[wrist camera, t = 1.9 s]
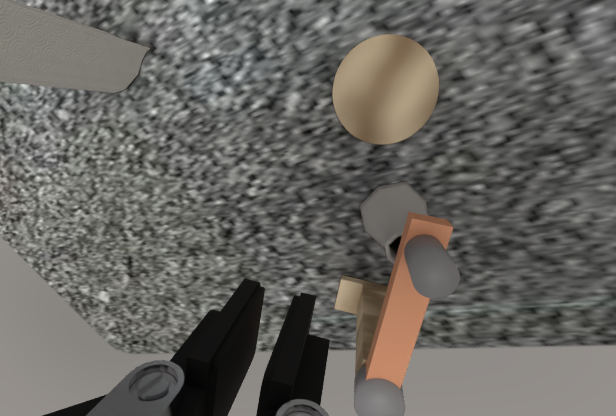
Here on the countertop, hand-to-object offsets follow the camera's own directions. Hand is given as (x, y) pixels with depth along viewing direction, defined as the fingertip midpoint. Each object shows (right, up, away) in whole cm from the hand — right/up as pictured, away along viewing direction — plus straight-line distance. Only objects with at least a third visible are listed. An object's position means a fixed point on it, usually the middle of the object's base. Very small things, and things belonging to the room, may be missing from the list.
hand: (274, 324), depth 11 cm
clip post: (+9, -6, +27) cm, 29 cm away
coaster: (+9, +16, +21) cm, 27 cm away
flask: (+11, +3, +24) cm, 26 cm away
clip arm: (+8, -4, +12) cm, 15 cm away
